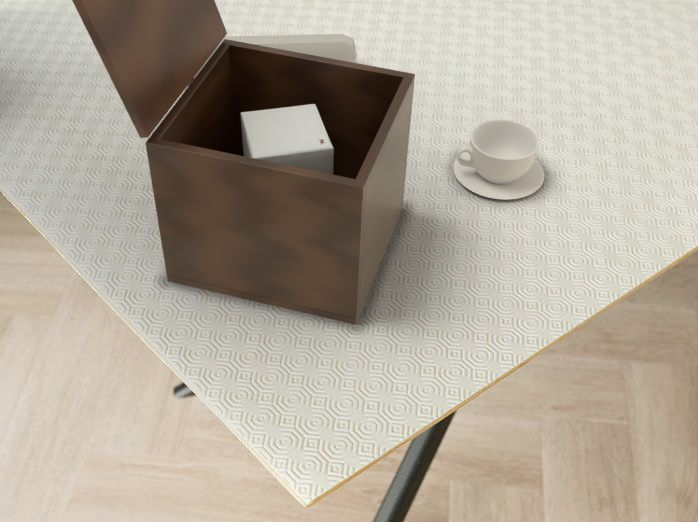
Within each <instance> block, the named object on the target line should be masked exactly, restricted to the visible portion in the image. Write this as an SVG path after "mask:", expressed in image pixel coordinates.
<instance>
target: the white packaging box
mask: <svg viewBox="0 0 698 522" xmlns="http://www.w3.org/2000/svg"><path fill="white" fill-rule="evenodd" d="M241 126H242V139H243V151H244V156H245V157H249V158H254V159H259V160H264V161H269V162H274V163H279V164H284V165H288V166H293V167H298V168H303V169H308V170H313V171H318V172H322V173H327V174H332V175H333V158H334V148H333V146H332V144H331V141H330V139H329V137H328V134H327V132H326V130H325V127H324V125H323V122H322V120H321V117H320V115H319V112H318V110H317V107H316V105H315V104H308V105H301V106H293V107H284V108H276V109H267V110H259V111H249V112H241Z"/></svg>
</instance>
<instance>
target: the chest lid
mask: <svg viewBox="0 0 698 522" xmlns="http://www.w3.org/2000/svg"><path fill="white" fill-rule="evenodd" d="M71 1H72V4H73V5H74V7H75V9H76V11H77V13H78V15H79V17H80V19H81V21H82V24H83V25H84V27H85V29H86V31H87V33H88V36H89V38H90V40H91V41H92V43H93V45H94V48H95V49H96V52H97V53H98V56H99V58H100V60H101V62H102V64H103V66H104V67H105V70H106V72H107V75H108V76H109V78H110V80H111V82H112V84H113V85H114V88H115V90H116V92H117V94H118V97H119V98H120V100H121V102H122V104H123V105H124V108H125V110H126V112H127V114H128V116H129V118H130V120H131V122H132V124H133V126H134V129H135V130H136V132H137V134H138V136H139V138H140V139H147V138H149V137H150V136H151V135H152V134H153V132H154V131H155V130H156V128H157V127H158V126H159V124H160V123H161V122H162V120H163V119H164V118H165V116H166V115H167V114H168V113H169V111H170V110H171V109H172V107H173V106H174V105H175V103H176V102H177V101H178V99H179V98H180V97H181V95H182V94H183V93H184V92H185V90H186V89H187V88H188V86H189V85H190V84H191V82H192V81H193V80H194V79H193V78H194V77H195V75H196V74H197V73H198V71H199V70H200V69H201V67H202V66H203V65H204V63H205V62H206V61H207V60H208V58H209V57H210V56H211V54H212V53H213V52H214V50H215V49H216V48H217V46H218V45H219V44H220V42H221V41H222V40H223V39H224V37H225V36H227V35H228V32H227V29H226V27H225V23H224V21H223V19H222V16H221V14H220V11H219V8H218V6H217V4H216V1H215V0H71Z"/></svg>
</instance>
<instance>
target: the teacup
mask: <svg viewBox="0 0 698 522" xmlns="http://www.w3.org/2000/svg"><path fill="white" fill-rule="evenodd" d="M540 140H541V139H540V137H539V135H538V134H537V132H536V131H535V130H534V129H532V128H531V127H530V126H529V125H527V124H524V123H522V122H519V121H517V120H514V119H507V118H494V119H493V118H492V119H487V120H484V121H482V122H479V123H478V124H476V125H475V126H474V127H473V128H472V129H471V131H470V134H469V144H463V145H461V146H459V147H458V148H457V150H456V158H455V160H454V162H453V165H452V166H453V167H452V168H453V173H454V176H455V178H456V179H457V181H458V182H459V183H460V184H461V185H462V186H463V187H465V189H467V190H469V191H470V192H473V194H474V193H475V194H476V195H479V196H482V197H485V198H488V199H495V200H503V201H504V200H517V199H521V198H525V197H528V196H531V195H532V194H534V193H536V192H537V191H539V189H540V188H541V187H542V186H543V183H544V182H545V170H544V168H543V166H542V164H541V163H540V161H539V160H538V159H537V158H536V157H537V154H538V151H539V150H540V145H541V141H540Z"/></svg>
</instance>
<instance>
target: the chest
mask: <svg viewBox="0 0 698 522" xmlns="http://www.w3.org/2000/svg"><path fill="white" fill-rule="evenodd" d="M415 80H416V74H415V73H412V72H407V71H401V70H396V69H392V68H391V69H390V68H386V67H381V66H380V67H379V66H374V65H368V64H363V63H358V62H355V63H353V62H347V61H342V60H336V59H331V58H326V57H320V56H315V55H309V54H304V53H298V52H293V51H287V50H282V49H277V48H271V47H266V46H260V45H255V44H249V43H244V42H238V41H233V40H228V39H224V40H223V42H222V43H221V44H220V46H219V47H218V48H217V49H216V51H215V52H214V53H213V55H212V56H211V57H210V59H209V60H208V61H207V63H206V64H205V65H204V67H203V68H202V69H201V70H200V72H199V73H198V74H197V76H196V77H195V78H194V79H192V81H191V82H190V83H189V84H188V86H187V87H186V88H185V90H184V91H183V92H182V94H181V95H180V96H179V98H178V99H177V100H176V101H175V103H174V104H173V105H172V107H171V108H170V109H169V111H168V112H167V113H166V115H165V116H164V117H163V119H162V120H161V121H160V122H159V124H158V125H157V126H156V128H155V129H154V130H153V132H152V133H151V134H150V136H149V137H148V139H147V140H146V141H145V150H146V155H147V162H148V167H149V174H150V175H149V176H150V180H151V181H150V182H151V187H152V194H153V199H154V204H155V205H154V206H155V211H156V217H157V218H156V219H157V224H158V230H159V236H160V242H161V249H162V255H163V261H164V266H165V268H164V269H165V273H166V279H167V282H170V283H173V284H177V285H178V284H179V285H183V286H187V287H191V288H195V289H200V290H204V291H208V292H212V293H217V294H221V295H225V296H230V297H234V298H238V299H243V300H248V301H251V302H256V303H259V304H265V305H268V306H273V307H277V308H281V309H286V310H290V311H294V312H299V313H304V314H307V315H312V316H315V317H320V318H324V319H328V320H332V321H336V322H342V323H346V324H350V325H354V326H356V325H357V324H358V321H359V319H360V316H361V313H362V311H363V308H364V306H365V304H366V302H367V298H368V296H369V293H370V291H371V289H372V286H373V284H374V281H375V278H376V276H377V274H378V271H379V269H380V265H381V263H382V261H383V259H384V256H385V253H386V251H387V248H388V245H389V243H390V241H391V239H392V236H393V233H394V230H395V229H396V226H397V223H398V221H399V218H400V216H401V213H402V211H403V208H404V207H403V206H404V197H405V196H404V195H405V186H406V174H407V164H408V155H409V145H410V132H411V122H412V112H413V111H412V110H413V103H414V90H415V82H416V81H415ZM308 104H315V105H316V107H317V110H318V112H319V115H320V117H321V120H322V122H323V125H324V127H325V130H326V132H327V134H328V137H329V139H330V141H331V144H332V146H333V148H334V158H333V175H332V174H327V173H322V172H318V171H313V170H308V169H303V168H298V167H293V166H288V165H284V164H279V163H274V162H269V161H264V160H259V159H254V158H249V157H245V156H244V151H243V139H242V126H241V112H249V111H259V110H267V109H276V108H284V107H293V106H301V105H308Z"/></svg>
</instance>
